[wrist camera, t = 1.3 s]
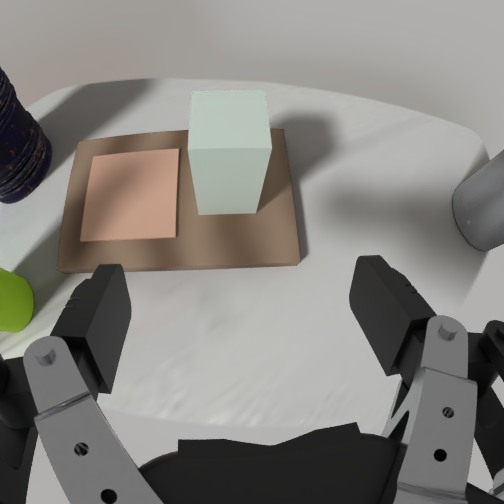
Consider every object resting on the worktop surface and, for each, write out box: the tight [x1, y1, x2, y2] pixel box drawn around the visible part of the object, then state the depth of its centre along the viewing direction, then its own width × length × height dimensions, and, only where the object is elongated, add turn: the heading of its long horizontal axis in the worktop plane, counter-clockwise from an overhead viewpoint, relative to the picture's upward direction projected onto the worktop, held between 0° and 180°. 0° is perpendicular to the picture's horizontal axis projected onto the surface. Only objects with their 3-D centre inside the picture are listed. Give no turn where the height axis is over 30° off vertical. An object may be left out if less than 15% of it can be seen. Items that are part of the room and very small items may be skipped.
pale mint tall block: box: [188, 90, 272, 215], centre depth 23 cm, size 5×5×10 cm
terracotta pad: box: [80, 149, 179, 242], centre depth 27 cm, size 9×9×1 cm
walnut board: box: [57, 129, 300, 273], centre depth 28 cm, size 22×14×2 cm, turn 93°
